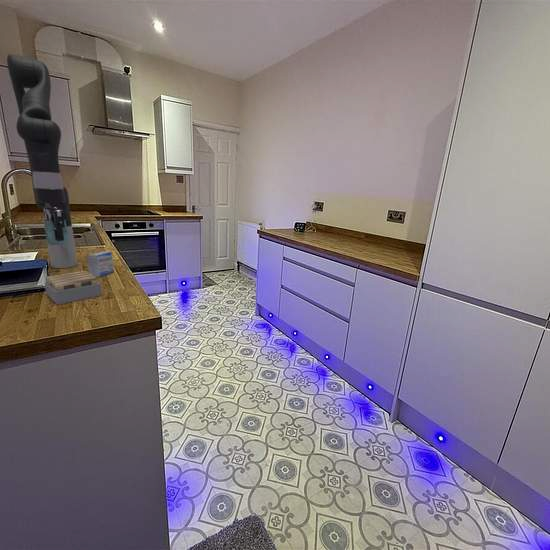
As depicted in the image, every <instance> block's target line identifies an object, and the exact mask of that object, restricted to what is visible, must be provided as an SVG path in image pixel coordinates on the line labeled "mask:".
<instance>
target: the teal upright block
mask: <svg viewBox="0 0 550 550" xmlns="http://www.w3.org/2000/svg"><path fill="white" fill-rule="evenodd" d="M53 220H54V219H53ZM57 224H60V223H59V222H57ZM64 224H65V228H63V235H64V240H63V241H57V240H56V238H55V232H54V229H53V223H52V222H50V220H49V219H45V218H43V225H44V226H43V227H44V231H45V238H46V244H47V243H48V244H50V245H61V244H69V239H68V233H67V226H66V220H64ZM48 244H47V245H48Z"/></svg>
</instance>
